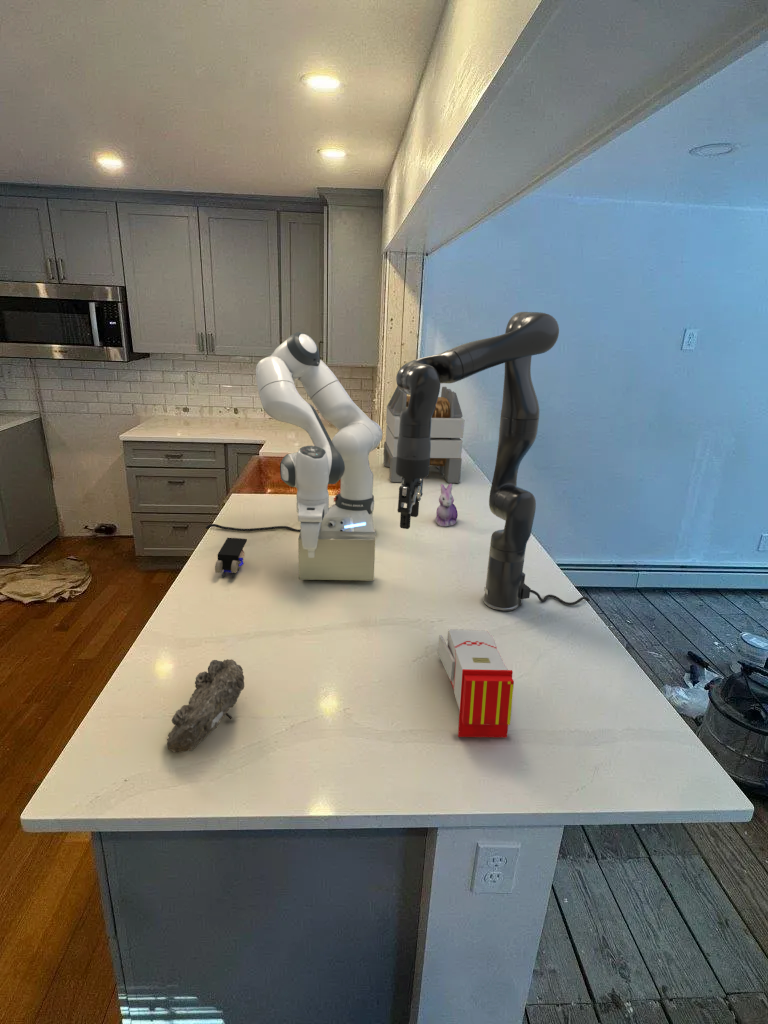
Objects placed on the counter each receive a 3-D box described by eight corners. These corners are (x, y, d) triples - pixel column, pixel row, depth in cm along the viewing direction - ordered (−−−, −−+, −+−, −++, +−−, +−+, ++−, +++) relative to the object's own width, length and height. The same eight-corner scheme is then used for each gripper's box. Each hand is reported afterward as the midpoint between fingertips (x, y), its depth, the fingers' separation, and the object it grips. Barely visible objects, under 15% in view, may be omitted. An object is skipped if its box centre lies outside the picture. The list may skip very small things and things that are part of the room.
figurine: (442, 528, 206) (446, 489, 201) (428, 519, 214) (431, 481, 209) (464, 525, 210) (468, 486, 205) (449, 516, 218) (452, 479, 213)
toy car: (238, 584, 162) (249, 557, 175) (236, 562, 158) (247, 536, 172) (215, 584, 161) (227, 556, 175) (212, 561, 158) (225, 535, 171)
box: (299, 579, 161) (298, 538, 156) (301, 570, 166) (300, 530, 162) (373, 580, 162) (375, 539, 157) (373, 571, 167) (374, 531, 163)
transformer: (382, 463, 289) (386, 382, 275) (445, 464, 293) (451, 384, 279) (390, 482, 257) (394, 392, 243) (460, 483, 261) (468, 394, 247)
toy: (488, 613, 130) (523, 677, 101) (484, 667, 133) (517, 744, 104) (435, 612, 130) (455, 676, 101) (432, 666, 133) (451, 743, 103)
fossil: (192, 660, 117) (244, 628, 112) (224, 691, 120) (276, 661, 115) (142, 746, 98) (202, 712, 93) (182, 779, 101) (242, 748, 96)
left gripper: (304, 493, 166) (305, 537, 171) (297, 518, 147) (297, 566, 152) (326, 494, 166) (326, 537, 171) (321, 518, 147) (321, 567, 152)
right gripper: (423, 464, 120) (418, 535, 125) (435, 449, 133) (431, 514, 138) (388, 460, 122) (385, 530, 127) (404, 446, 135) (401, 510, 140)
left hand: (312, 551), depth 161 cm, fingers closed on box, 6 cm apart
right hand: (409, 521), depth 133 cm, fingers open, 8 cm apart
